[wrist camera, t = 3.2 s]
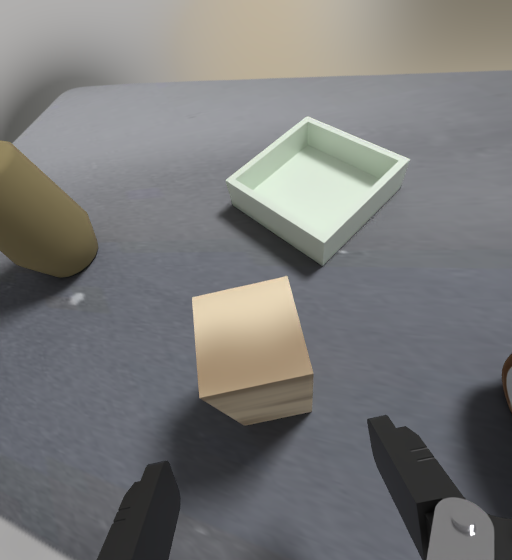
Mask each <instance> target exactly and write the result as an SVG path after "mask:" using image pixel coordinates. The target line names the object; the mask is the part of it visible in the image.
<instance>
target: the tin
mask: <svg viewBox="0 0 512 560" xmlns="http://www.w3.org/2000/svg"><path fill="white" fill-rule="evenodd" d="M502 383H503V389H504V393H505V397H506V400H507V403H508V406H509V408H510V410H511V413H512V354H511V355H510V356H509V357H508V358H507V360H506V361H505V363H504V366H503V369H502Z"/></svg>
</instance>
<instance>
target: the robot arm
mask: <svg viewBox="0 0 512 560" xmlns="http://www.w3.org/2000/svg"><path fill="white" fill-rule="evenodd" d="M367 423H368V429H369V435H370V441H371V447H372V452H373V456H374V460H375V462H376V465H377V468H378V470H379V472H380V474H381V476H382V478H383V480H384V482H385V484H386V486H387V488H388V490H389V492H390V495H391V497H392V499H393V501H394V503H395V505H396V507H397V509H398V511H399V513H400V515H401V517H402V519H403V521H404V523H405V525H406V527H407V529H408V531H409V533H410V536H411V538H412V540H413V542H414V544H415V546H416V548H417V550H418V552H419V554H420V556H421V558H422V560H512V519H507V518H500V517H496V516H492V515H489V514H487V513H485V512H484V511H483V510H482V509H481V508H480V507H478V506H477V505H475V504H474V503H472V502H470V501H468V500H466V499H465V498H464V497H463V495H462V494H461V493H460V491H459V490H458V489H457V487H456V486H455V484H454V483H453V482H452V480H451V479H450V478H449V476H448V475H447V474H446V472H445V471H444V469H443V468H442V467H441V465H440V464H439V463H438V461H437V460H436V459H435V458H434V456H433V455H432V453H431V452H430V450H429V449H427V446H426V445H425V444H424V442H423V441H422V440H421V438H420V437H419V435H417V434H416V433H415V432H413V431H412V430H410V429H409V428H407V427H406V426H405V427H400V428H395V426H394V424H393V423H392V421H391V420H390V418H389V417H388V416H387V415H384V416H379V417H374V418H369V419H367ZM179 511H180V493H179V489H178V486H177V483H176V481H175V478H174V475H173V472H172V469H171V466H170V464H169V462H168V461H163V462H158V463H153V464H149V465H147V467H146V468H145V471H144V473H143V476H142V478H141V481H139V482H135V483H134V484H133V485H132V487H131V488H130V489H129V490H128V492H127V493H126V494H125V496H124V498H123V500H122V503H121V505H120V507H119V512H117V514H116V517H115V519H114V523H113V524H112V526H111V528H110V530H109V533H108V535H107V537H106V540H105V542H104V544H103V547H102V549H101V551H100V554H99V556H98V558H97V560H168V559H169V554H170V550H171V546H172V541H173V537H174V532H175V528H176V524H177V519H178V515H179Z"/></svg>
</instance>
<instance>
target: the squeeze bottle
mask: <svg viewBox="0 0 512 560" xmlns="http://www.w3.org/2000/svg"><path fill="white" fill-rule="evenodd" d="M97 249H98V243H97V239H96V236H95V233H94V231H93V228H92V225H91V222H90V220H89V217H88V214H87V212H86V211H84V210H83V209H82V208H81V207H80V206H79V205H78V204H77V203H76V202H75V201H74V200H73V199H71V198H70V197H69V196H68V195H67V194H66V193H65V192H64V191H63V190H62V189H61V188H59V187H58V186H57V185H56V184H55V183H54V182H53V181H52V180H51V179H50V178H49V177H48V176H46V175H45V174H44V173H43V172H42V171H41V170H40V169H39V168H38V167H37V166H36V165H34V164H33V163H32V162H31V161H30V160H29V159H28V158H27V157H26V156H25V155H24V154H22V153H21V152H20V151H19V150H18V149H17V148H16V147H15V146H14V145H13V144H12V143H11V142H5V141H0V251H1V252H2V253H3V254H4V255H6V256H7V257H8V258H9V259H10V260H11V261H13V262H14V263H15V264H16V265H18V266H22V267H25V268H28V269H31V270H35V271H38V272H42V273H45V274H49V275H52V276H56V277H69V276H71V275H74V274H76V273H78V272H80V271H82V270H83V269H84V268H85V267H87V266H88V265H89V264H90V263H91V261H92V260H93V259H94V257H95V256H96V253H97Z"/></svg>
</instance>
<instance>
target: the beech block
mask: <svg viewBox="0 0 512 560" xmlns="http://www.w3.org/2000/svg"><path fill="white" fill-rule="evenodd" d="M192 302H193V316H194V330H195V344H196V358H197V372H198V385H199V398H200V399H202V400H204V401H205V402H207V403H208V404H210V405H212V406H213V407H215V408H217V409H218V410H220V411H221V412H223V413H225V414H226V415H228V416H229V417H231V418H233V419H234V420H236V421H238V422H239V423H241V424H242V425H244V426H246V425H251V424H255V423H260V422H265V421H270V420H275V419H279V418H284V417H289V416H294V415H298V414H303V413H308V412H312V396H313V370H312V366H311V363H310V359H309V355H308V352H307V348H306V344H305V340H304V337H303V333H302V329H301V325H300V322H299V318H298V314H297V310H296V307H295V303H294V299H293V295H292V292H291V288H290V284H289V280H288V277H287V276H286V277H281V278H277V279H272V280H268V281H263V282H259V283H255V284H250V285H246V286H241V287H237V288H232V289H228V290H224V291H219V292H215V293H210V294H206V295H201V296H197V297H193V298H192Z"/></svg>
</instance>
